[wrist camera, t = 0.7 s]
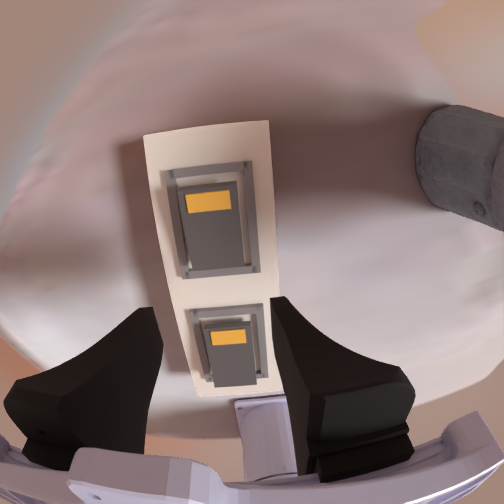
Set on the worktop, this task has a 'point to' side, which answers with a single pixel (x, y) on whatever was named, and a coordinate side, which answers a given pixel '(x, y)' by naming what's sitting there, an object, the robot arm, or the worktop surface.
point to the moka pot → (463, 163)
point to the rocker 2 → (231, 353)
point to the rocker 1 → (212, 225)
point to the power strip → (253, 235)
